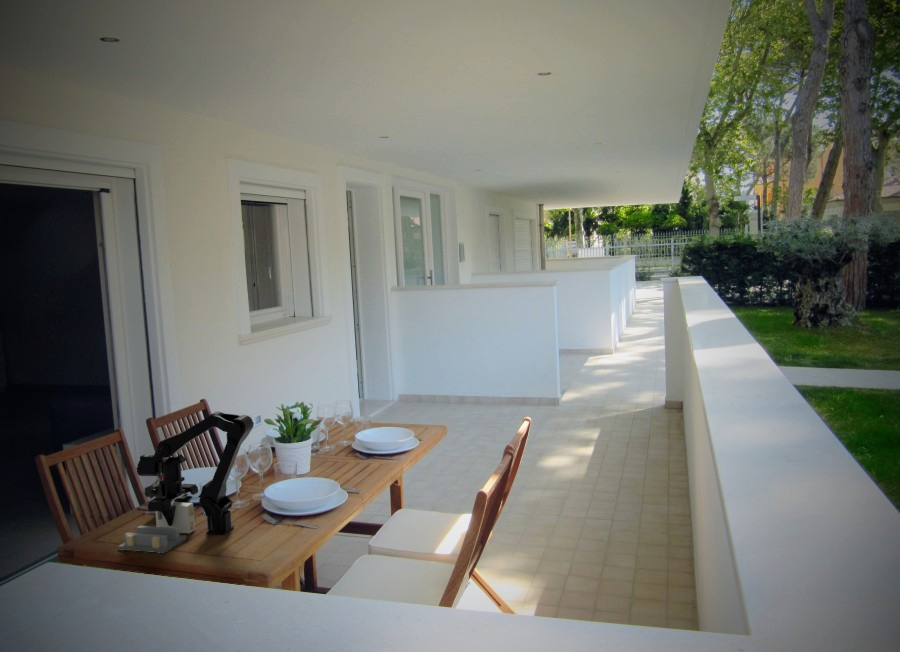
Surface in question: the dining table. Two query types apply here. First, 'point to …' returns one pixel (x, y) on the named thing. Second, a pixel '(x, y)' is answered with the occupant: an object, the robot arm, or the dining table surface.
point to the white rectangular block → (179, 518)
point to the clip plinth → (152, 539)
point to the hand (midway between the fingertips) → (175, 522)
